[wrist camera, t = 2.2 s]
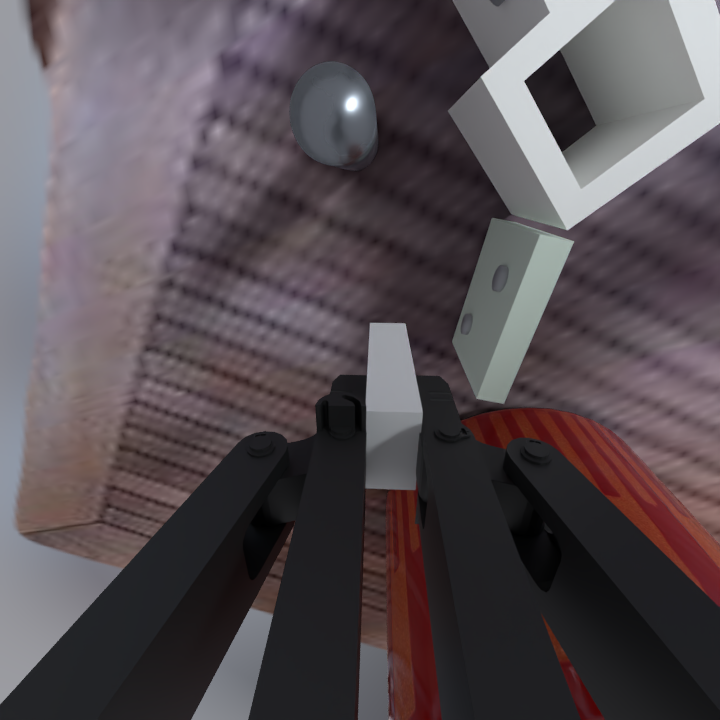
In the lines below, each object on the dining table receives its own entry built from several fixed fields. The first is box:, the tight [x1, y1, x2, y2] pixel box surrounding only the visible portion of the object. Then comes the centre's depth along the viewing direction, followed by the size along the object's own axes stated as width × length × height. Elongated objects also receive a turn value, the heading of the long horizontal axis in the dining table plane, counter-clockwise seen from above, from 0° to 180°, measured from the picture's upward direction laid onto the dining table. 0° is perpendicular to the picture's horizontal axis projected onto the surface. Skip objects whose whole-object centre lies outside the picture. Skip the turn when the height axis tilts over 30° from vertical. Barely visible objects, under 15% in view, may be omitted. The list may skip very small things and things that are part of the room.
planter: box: [386, 407, 720, 720], centre depth 26 cm, size 23×23×20 cm
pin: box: [289, 61, 378, 171], centre depth 17 cm, size 3×3×11 cm
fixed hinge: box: [448, 0, 720, 230], centre depth 16 cm, size 7×15×8 cm, turn 40°
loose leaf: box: [452, 218, 574, 404], centre depth 22 cm, size 2×9×8 cm, turn 170°
